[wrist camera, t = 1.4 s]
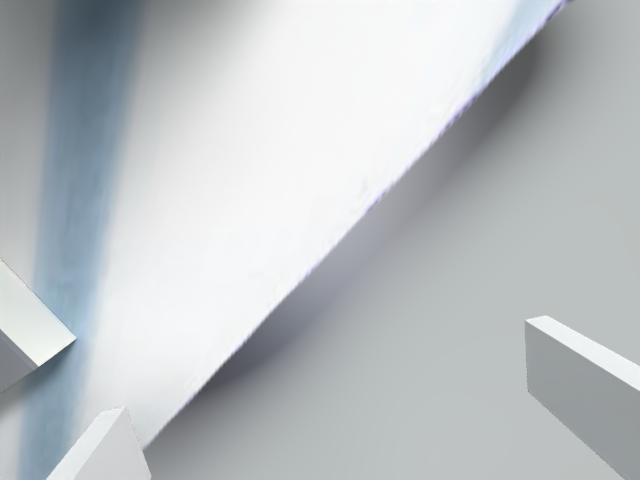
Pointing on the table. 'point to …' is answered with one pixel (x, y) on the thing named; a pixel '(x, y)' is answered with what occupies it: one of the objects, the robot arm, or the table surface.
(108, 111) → the table surface
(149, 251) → the table surface
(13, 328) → the box
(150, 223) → the table surface
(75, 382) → the table surface
